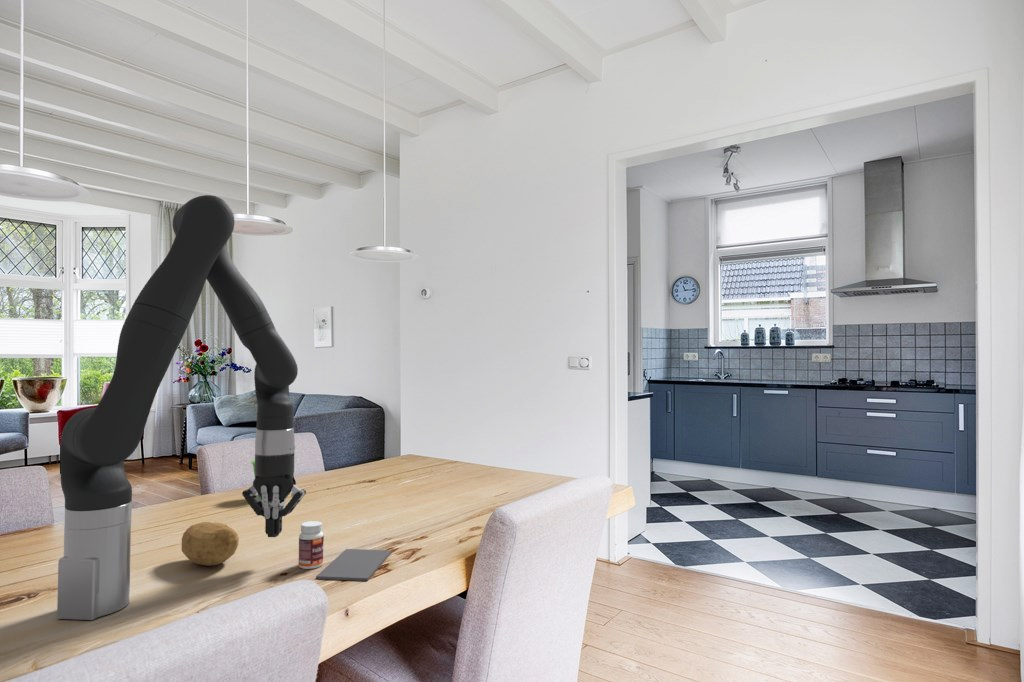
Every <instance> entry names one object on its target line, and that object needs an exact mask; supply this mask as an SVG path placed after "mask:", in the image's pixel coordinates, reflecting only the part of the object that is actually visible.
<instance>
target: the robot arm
mask: <svg viewBox="0 0 1024 682" xmlns="http://www.w3.org/2000/svg"><path fill="white" fill-rule="evenodd" d="M234 215H235V214H234V213H233V210H232V208H231V206H230V205H229V204H228V203H227V202H226V201H225V200H224V199H222V198H220V197H218V196H215V195H211V194H205V195H199V196H195V197H193V198H191V199H189V200H188V201H187V202H186V203H184V204H183V205H182V206H181V207H179V208H178V209H177V211H175V213H174V216H173V218H172V229H173V233H174V235H175V237H174V239H173V242H172V245H171V247H170V248H169V251H168V253H167V254H166V256H165V258H164V259H163V261H162V262H161V263H160V264H159V266H158V267H157V268H156V270H155V271H154V272H153V273H152V275H151V276H150V278H149V279H148V280H147V282H146V283H145V285H144V286H143V288H142V289H141V291H140V292H139V294H138V295H137V296H136V298H135V300H134V302H133V304H132V306H131V308H130V310H129V312H128V314H127V315H126V319H125V320H124V322H123V325H122V327H121V330H120V333H119V338H118V342H117V343H118V344H117V350H116V360H115V366H114V369H113V370H114V371H113V374H112V376H111V380H110V382H109V384H108V385H107V388H106V390H105V392H104V393H103V395H102V397H101V399H100V401H99V402H98V404H97V406H96V407H89V408H88V407H87V408H84V409H82V410H80V411H77V412H76V413H74V414H73V415H72V416H71V417H70V418H69V419H68V420H67V421H66V423H65V425H64V427H63V430H62V432H61V436H60V484H61V490H62V494H63V497H64V525H63V526H64V527H63V531H64V533H63V557H60V558H59V559H58V562H57V564H58V565H57V567H58V568H57V602H56V603H57V604H56V605H57V606H56V619H58V620H59V619H60V620H63V619H64V620H79V621H80V620H82V621H83V620H84V621H86V620H87V621H92V620H95V619H98V618H100V617H103V616H106V615H110V614H113V613H115V612H117V611H119V610H122V609H123V608H125V607H127V606H128V605H129V603H130V595H131V593H130V590H131V588H130V585H131V552H132V549H131V546H132V545H131V544H132V543H131V542H132V541H131V540H132V510H133V509H132V507H133V505H132V502H133V487H132V485H131V483H130V481H129V479H128V478H127V476H126V475H127V474H126V472H125V464H124V463H125V462H124V461H126V460H127V459H128V458H129V457H130V456H132V455H133V453H134V452H135V450H137V448H138V446H139V445H140V442H141V440H142V436H143V434H144V432H145V428H146V425H147V422H148V418H149V416H150V412H151V409H152V406H153V403H154V400H155V398H156V394H157V392H158V389H159V387H160V386H161V384H162V381H163V380H164V377H165V375H166V373H167V371H168V369H169V366H170V364H171V363H172V360H173V358H174V355H175V354H176V351H177V350H178V348H179V346H180V343H181V342H182V339H183V337H184V335H185V333H186V330H187V329H188V326H189V324H190V322H191V320H192V316H193V314H194V311H195V309H196V307H197V304H198V302H199V300H200V297H201V294H202V292H203V288H204V286H205V283H206V280H207V282H208V283H209V285H210V287H211V288H212V290H213V292H214V293H215V296H216V297H217V298H218V300H219V302H220V304H221V306H222V307H223V309H224V312H225V313H226V315H227V318H228V320H229V321H230V323H231V325H232V328H233V329H234V332H235V333H236V335H237V337H238V339H239V341H240V343H241V344H242V345H243V347H245V348H246V349H248V351H249V352H250V354H251V357H252V358H253V360H254V361H255V366H254V375H253V376H254V389H255V391H254V392H255V397H256V406H257V408H256V409H257V410H256V431H255V432H256V433H255V439H254V461H255V475H254V480H253V482H252V485H251V486H250V487H249V488H248V489H245V490H243V491H242V493H241V495H242V496H243V498H244V499H245V501H246V503H247V504H249V506H250V508H251V509H252V511H253V512H254V513H255V515H256V516H262V517H263V518H264V519H265V520H264V521H265V522H264V523H265V527H264V532H265V534H266V535H267V538H277V537H278V536H279V535H280V534H281V533H282V532H283V531H282V530H283V517H286V516H287V515H289V514H291V513H292V512H293V510H294V509H296V507H297V506H298V504H299V503H300V502H301V500H302V499H303V497H305V495H306V494H307V490H306V489H304V488H303V489H301V488H300V487H298V485H297V482H296V479H295V450H296V444H295V441H296V440H295V432H294V431H295V430H294V422H295V421H294V415H295V413H294V404H293V402H292V401H291V398H290V386H291V385H292V384H293V383H294V382H295V380H296V379H297V377H298V371H299V370H298V364H297V361H296V359H295V357H294V356H293V353H292V351H290V348H289V346H288V345H287V344H286V343H285V341H284V340H283V338H282V337H281V336H280V334H279V333H278V331H277V329H276V327H275V324H274V322H273V319H271V317H270V314H269V313H268V310H267V308H266V306H265V304H264V303H263V300H262V299H261V297H260V296H259V294H258V293H257V292H256V291H255V289H254V288H253V287H252V286H251V284H250V283H249V282H248V281H247V280H246V278H245V277H244V276H243V275H242V274H241V272H240V270H238V268H237V266H236V264H235V263H234V262H233V260H232V258H231V255H230V253H229V251H228V248H227V246H226V244H227V243H228V241H229V239H230V237H231V236H232V234H233V232H234V229H235V216H234ZM258 494H259V495H260V497H261V498H262V500H261V499H260V498H259V496H258ZM289 495H290V496H291V498H290V500H289V501H288V502H287V503H286V501H287V498H288V496H289Z"/></svg>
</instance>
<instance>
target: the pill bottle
mask: <svg viewBox="0 0 1024 682" xmlns="http://www.w3.org/2000/svg"><path fill="white" fill-rule="evenodd" d="M322 529H323V522H321V521H317V520H310V521H309V520H308V521H305V522H302V523H301V524H300V532H301V533H299V535H298V567H299V568H300V569H303V570H313V569H316V568H317V569H318V568H320V567H321V566H323V564H324V539H325V538H324V537H325V536H324V532H323V531H322Z"/></svg>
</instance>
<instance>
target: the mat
mask: <svg viewBox="0 0 1024 682" xmlns="http://www.w3.org/2000/svg"><path fill="white" fill-rule="evenodd" d="M391 554H392V550H391V549H390V550H388V549H387V550H386V549H362V548H361V549H358V548H356V549H355V548H345V550H343V551H342V552H341V553H340V554H339V555H338V556H336V558H335V559H333V560H332V561H331V562H330V563H329V564H327V566H326V567H325V568H324V569H322V571H320V572H319V573H318V574H317V575H316V576H315V580H335V581H358V582H360V581H362V582H364V581H365V582H368V581H369V580H370V579H371V578H372V576H374V574H375V573H376V572H377V571H378V570H379V568H380V567H381V566H382V565H383V564H384V562H385V561H386V560H387V559H388V558H389V557H390V555H391Z"/></svg>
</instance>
